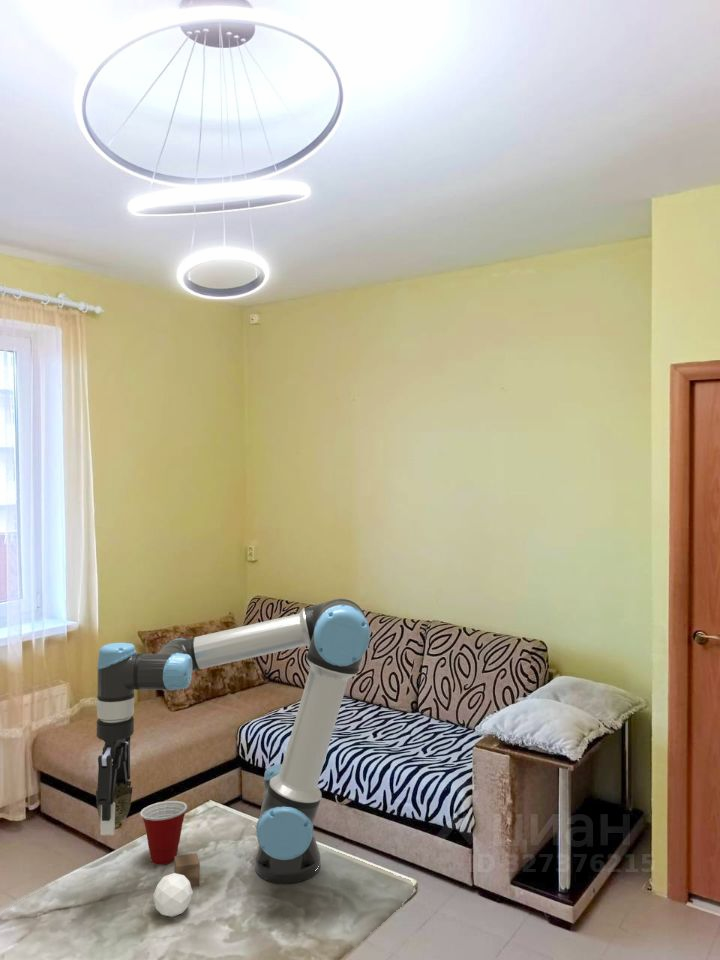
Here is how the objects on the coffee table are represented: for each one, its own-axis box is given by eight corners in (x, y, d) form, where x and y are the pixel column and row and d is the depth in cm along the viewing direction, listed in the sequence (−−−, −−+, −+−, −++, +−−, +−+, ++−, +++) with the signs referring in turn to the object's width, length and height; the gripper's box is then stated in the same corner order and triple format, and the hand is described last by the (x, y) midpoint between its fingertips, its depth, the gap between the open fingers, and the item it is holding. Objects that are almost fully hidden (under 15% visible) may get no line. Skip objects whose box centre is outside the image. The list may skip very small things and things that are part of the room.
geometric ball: (178, 920, 150) (200, 882, 153) (176, 928, 143) (198, 887, 146) (148, 901, 150) (170, 863, 154) (143, 908, 143) (167, 868, 146)
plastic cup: (166, 843, 178) (167, 794, 178) (195, 856, 171) (196, 805, 171) (129, 860, 169) (130, 809, 169) (159, 875, 162) (160, 822, 163)
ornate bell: (120, 837, 148) (120, 798, 148) (88, 833, 149) (88, 794, 150) (138, 821, 155) (139, 784, 155) (107, 817, 157) (108, 781, 157)
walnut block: (196, 874, 163) (196, 852, 163) (199, 886, 159) (199, 863, 159) (173, 878, 162) (174, 856, 162) (176, 890, 157) (176, 866, 157)
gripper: (113, 703, 163) (111, 805, 162) (80, 732, 143) (77, 848, 142) (146, 704, 163) (145, 806, 162) (117, 732, 143) (115, 849, 142)
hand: (113, 825), depth 152 cm, fingers closed on ornate bell, 7 cm apart
